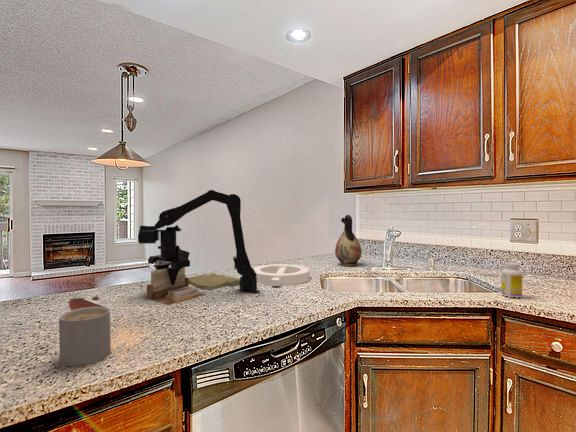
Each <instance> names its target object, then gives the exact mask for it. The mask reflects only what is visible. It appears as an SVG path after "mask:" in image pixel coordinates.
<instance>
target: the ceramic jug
mask: <svg viewBox="0 0 576 432" xmlns="http://www.w3.org/2000/svg"><path fill="white" fill-rule="evenodd" d="M340 220H341V223H342V224H344V229H343V231H342V233H341V234H340V236H339V238H338V240H337V242H336V245H335V249H334V252H335V258H336V259H337V260H338V261H339V263H340V265H341V266H342V267H343V266H345V267H354V266H357V265H358V264H357V263H358V262H359V261H360V259H361V257H362V253H363V252H362V247H361V244H360V242H359V240H358V238H357V237H356V235H355V234H354V233H353V218H352V216H351V215H350V214H346V215H345V216H344V217H342V218H341V219H340Z"/></svg>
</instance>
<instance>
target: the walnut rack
mask: <svg viewBox="0 0 576 432" xmlns="http://www.w3.org/2000/svg"><path fill="white" fill-rule="evenodd" d="M187 286H189V287H190V284H189V277H187V276H185V285H181V286H177V287H173V288H168V289H164V290H160V291H156V292H154V299H153V285H151V284H146V296H143V297H142V299H145V300H149V301H153V302H156V303H159V304H163V305H166V306H171V305H174V304H177V303H181V302H184V301H185V302H186V301H189V300H191V299H195V298H199V297H203V296H206V295H207V293H204V292H199V291H198V292H199V296H197V297H194V298H190V299H187V300H183V301H180V302H173V301H169V300H166V295H168V291H171V290H175V289H179V288H183V287H187Z"/></svg>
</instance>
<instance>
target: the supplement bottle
mask: <svg viewBox="0 0 576 432" xmlns="http://www.w3.org/2000/svg"><path fill="white" fill-rule="evenodd" d="M504 267H505V268H504V269H502V270H501V287H500V288H501V291H500V293H501V296H503V295H505V296H510V297H521V298H522V297H523V272H522V270H520V269H519V268H520V263H516V262H504ZM505 296H504V297H505Z"/></svg>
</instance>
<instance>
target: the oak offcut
mask: <svg viewBox="0 0 576 432" xmlns="http://www.w3.org/2000/svg"><path fill="white" fill-rule="evenodd" d="M197 296H199V291H197V292H196V293H192V294H189V295H185V296H181V297H173V296H169V295H166V300H169V301H173V302H178V303H181V302H180V301H182V302H184V301H183V300H185V301H188V300H187V299H189V300H191V299H190V298H192V299H195V298H194V297H196V298H198V297H197ZM199 297H200V296H199Z"/></svg>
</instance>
